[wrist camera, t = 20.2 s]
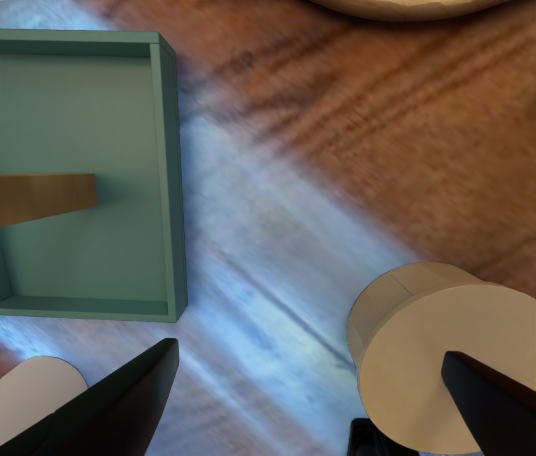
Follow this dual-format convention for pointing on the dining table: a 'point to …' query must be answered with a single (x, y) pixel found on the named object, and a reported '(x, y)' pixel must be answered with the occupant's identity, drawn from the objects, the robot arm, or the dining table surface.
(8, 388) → the cylindrical container
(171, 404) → the dining table surface
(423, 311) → the pot lid
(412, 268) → the pot
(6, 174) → the stick
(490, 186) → the dining table surface
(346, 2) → the wooden plate
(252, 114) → the dining table surface
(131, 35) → the tray
